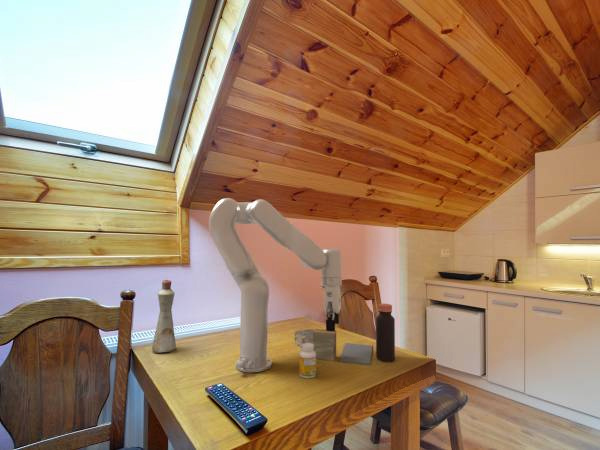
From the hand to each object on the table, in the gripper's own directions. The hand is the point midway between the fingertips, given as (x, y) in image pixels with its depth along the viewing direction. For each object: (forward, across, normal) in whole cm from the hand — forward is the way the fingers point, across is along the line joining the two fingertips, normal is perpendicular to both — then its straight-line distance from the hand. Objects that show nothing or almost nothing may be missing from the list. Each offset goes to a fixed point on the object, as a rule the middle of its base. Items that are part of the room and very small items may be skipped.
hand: (332, 327), depth 117 cm
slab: (+12, 0, +3) cm, 12 cm away
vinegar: (+12, +5, -19) cm, 23 cm away
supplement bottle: (+11, -16, +6) cm, 21 cm away
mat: (+12, +8, -8) cm, 16 cm away
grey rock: (+12, +14, +12) cm, 22 cm away
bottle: (+10, -10, +66) cm, 68 cm away
